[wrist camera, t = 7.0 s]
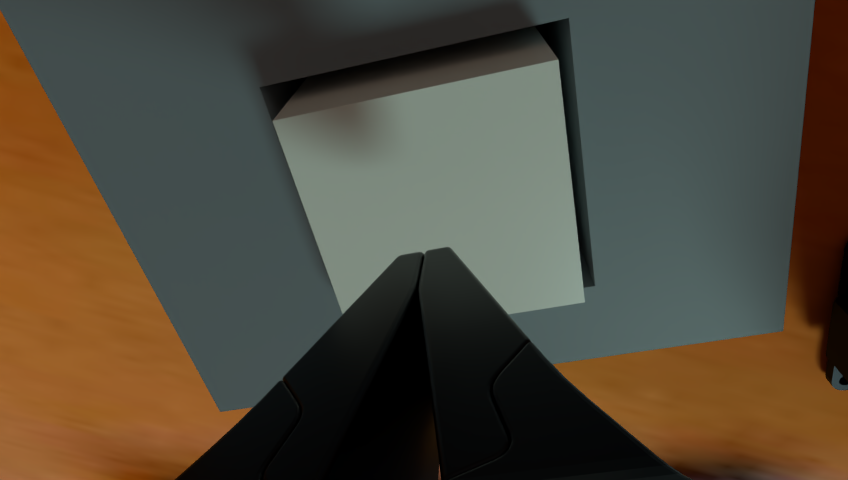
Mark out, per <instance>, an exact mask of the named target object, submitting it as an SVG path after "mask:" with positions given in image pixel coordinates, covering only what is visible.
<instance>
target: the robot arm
mask: <svg viewBox="0 0 848 480" xmlns="http://www.w3.org/2000/svg"><path fill="white" fill-rule="evenodd" d="M826 356H827V358H828V362H827V368H826V379H827V380H828V381H829V382H830V384H831V385H832V386H833V387H834V388H835V389H838V390H848V242H847V243H846V246H845V248H844V254H843V261H842V268H841V274H840V281H839V288H838V294H837V297H836V299H835V301H834V302H833V308H832V315H831V322H830V329H829V336H828V343H827V349H826ZM282 380H283V381H282ZM282 380H280V381H278V382H277V383H276V385H275V386H274V387H273V388H272V389H271V390H270V391H269V392H268V393H267V394H266V395H265V396H264V397H263V398H262V399H261V400H260V401H259V402H258V403H257V404H256V405H255V406H254V407H253V408H252V409H251V410H250V411H249V412H248V413H247V414H246V415H245V416H244V417H243V418H242V419H241V420H240V421H239V422H238V423H237V424H236V425H235V426H234V427H233V428H232V429H231V430H229V431H228V432H227V433H226V434H225V435H224V436H223V437H222V438H221V439H220V440H219V441H218V442H216V443H215V444H214V445H213V446H212V447H211V448H210V449H209V450H208V451H207V452H205V453H204V454H203V455H202V456H201V457H200V458H199V459H198V460H196V461H195V462H194V463H193V464H192V465H191V466H190V467H189V468H187V469H186V470H185V471H184V472H183V473H182V474H181V475H180V476H178V477H177V478H176V479H175V480H438V473H439V465H440V473H441V480H692V479H690V478H689V477H687V476H685V475H683V474H681V473H680V472H678V471H677V470H675V469H674V468H672V467H671V466H669V465H668V464H667V463H665V462H664V461H663V460H662V459H660V458H659V457H658V456H657V455H655V454H654V453H653V452H652V451H651V450H649V449H648V448H647V447H646V446H645V445H643V444H642V443H641V442H640V441H639V440H637V439H636V438H635V437H634V436H633V435H631V434H630V433H629V432H628V431H627V430H625V429H624V428H623V427H622V426H621V425H619V424H618V423H617V422H616V421H615V420H613V419H612V418H611V417H610V416H609V415H607V414H606V413H605V412H604V411H603V410H601V409H600V408H599V407H598V406H597V405H595V404H594V403H593V402H592V401H591V400H589V399H588V398H587V397H586V396H585V395H584V394H583V393H582V392H580V391H579V390H578V389H577V388H576V387H575V386H574V385H573V384H572V383H570V382H569V381H568V380H567V379H566V378H565V377H564V376H563V375H562V374H561V373H560V372H559V371H558V370H557V369H556V368H555V367H554V366H553V365H552V363H551V362H550V361H549V360H548V359H547V358H546V357H545V356H544V355H543V354H542V353H541V351H540V350H539V349H538V348H537V347H536V346H535V344H534V343H532V342H531V340H530V339H529V338H528V337H527V336H526V334H525V333H524V332H523V331H522V330H521V329H520V327H519V326H518V325H517V324H516V323H515V322H514V320H513V319H512V318H511V317H510V316H509V315H508V313H507V312H506V311H505V310H504V309H503V308H502V307H501V305H500V304H499V303H498V302H497V301H496V300H495V298H494V297H493V296H492V295H491V294H490V293H489V291H488V290H487V289H486V288H485V287H484V286H483V285H482V283H481V282H480V281H479V280H478V279H477V278H476V276H475V275H474V274H473V273H472V272H471V271H470V269H469V268H468V267H467V266H466V265H465V264H464V262H463V261H462V260H461V259H460V258H459V257H458V256H457V254H456V253H455V252H454V251H453V250H452V249H451V248H450V247H443V248H437V249H432V250H428V251H426V252H425V254H424V253H422V252H415V253H409V254H404V255H400V256H398V257H397V258H396V259H395V260H394V261H393V262H392V263H391V264H390V265H389V266H388V267H387V268H386V269H385V270H384V271H383V272H382V274H381V275H380V276H379V277H378V278H377V279H376V280H375V281H374V282H373V283H372V284H371V285H370V286H369V287H368V288H367V289H366V290H365V291H364V292H363V293H362V295H361V296H360V297H359V298H358V299H357V300H356V301H355V302H354V303H353V304H352V305H351V306H350V307H349V308H348V309H347V310H346V311H345V312H344V313H343V314H342V316H341V317H340V318H339V319H338V320H337V321H336V322H335V323H334V324H333V325H332V326H331V327H330V328H329V329H328V330H327V331H326V332H325V333H324V334H323V335H322V336H321V338H320V339H319V340H318V341H317V342H316V343H315V344H314V345H313V346H312V347H311V348H310V349H309V350H308V351H307V352H306V353H305V354H304V355H303V356H302V357H301V359H300V360H299V361H298V362H297V363H296V364H295V365H294V366H293V367H292V368H291V369H290V370H289V371H288V372H287V373H286V374H285V375H284V376H283V378H282Z"/></svg>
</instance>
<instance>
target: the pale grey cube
mask: <svg viewBox="0 0 848 480" xmlns="http://www.w3.org/2000/svg"><path fill="white" fill-rule="evenodd" d="M273 124H274V127H275V130H276V132H277V135H278V138H279V141H280V143H281V146H282V149H283V152H284V154H285V157H286V160H287V163H288V165H289V168H290V171H291V174H292V176H293V179H294V182H295V185H296V187H297V190H298V193H299V196H300V198H301V201H302V204H303V207H304V209H305V212H306V215H307V218H308V220H309V223H310V226H311V229H312V231H313V234H314V237H315V240H316V242H317V245H318V248H319V251H320V253H321V256H322V259H323V262H324V264H325V267H326V270H327V273H328V275H329V278H330V281H331V284H332V286H333V289H334V292H335V295H336V297H337V300H338V303H339V306H340V308H341V311H342V314H343V313H344V312H345V311H346V310H347V309H348V308H349V307H350V306H351V305H352V304H353V303H354V302H355V301H356V300H357V299H358V298H359V297H360V296H361V295H362V293H363V292H364V291H365V290H366V289H367V288H368V287H369V286H370V285H371V284H372V283H373V282H374V281H375V280H376V279H377V278H378V277H379V276H380V275H381V274H382V272H383V271H384V270H385V269H386V268H387V267H388V266H389V265H390V264H391V263H392V262H393V261H394V260H395V259H396V258H397V257H398V256H400V255H404V254H409V253H415V252H422V253H424V254H425V252H426V251H428V250H432V249H437V248H443V247H450V248H451V249H452V250H453V251H454V252H455V253H456V254H457V256H458V257H459V258H460V259H461V260H462V261H463V262H464V264H465V265H466V266H467V267H468V268H469V269H470V271H471V272H472V273H473V274H474V275H475V276H476V278H477V279H478V280H479V281H480V282H481V283H482V285H483V286H484V287H485V288H486V289H487V290H488V291H489V293H490V294H491V295H492V296H493V297H494V298H495V300H496V301H497V302H498V303H499V304H500V305H501V307H502V308H503V309H504V310H505V311H506V312H507V313H508V314H514V313H521V312H527V311H533V310H540V309H546V308H552V307H559V306H565V305H572V304H578V303H584V302H585V298H584V289H583V280H582V271H581V261H580V252H579V243H578V234H577V225H576V216H575V207H574V198H573V189H572V179H571V170H570V161H569V152H568V143H567V134H566V125H565V116H564V106H563V97H562V88H561V79H560V70H559V61H558V58H557V57H556V55H555V54H554V53H553V51H552V50H551V48H550V47H549V46H548V44H547V43H546V41H545V40H544V39H543V37H542V36H541V34H540V33H539V31H538V30H537V29H536V27H535V26H531V27H526V28H522V29H517V30H513V31H508V32H504V33H499V34H495V35H491V36H486V37H482V38H477V39H473V40H468V41H464V42H459V43H455V44H450V45H446V46H442V47H437V48H433V49H428V50H424V51H419V52H415V53H410V54H406V55H401V56H397V57H393V58H388V59H384V60H379V61H375V62H370V63H366V64H361V65H357V66H352V67H348V68H344V69H339V70H335V71H330V72H326V73H321V74H317V75H312V76H308V77H307V78H306V80H305V81H304V82H303V83H302V85H301V86H300V87H299V88H298V90H297V91H296V92H295V93H294V95H293V96H292V97H291V98H290V100H289V101H288V102H287V103H286V105H285V106H284V107H283V108H282V110H281V111H280V112H279V113H278V115H277V116H276V117H275V118H274V120H273Z"/></svg>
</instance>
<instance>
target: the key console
mask: <svg viewBox="0 0 848 480" xmlns="http://www.w3.org/2000/svg"><path fill="white" fill-rule="evenodd" d="M814 5H815V0H0V10H1V12H2V13H3V15H4V17H5V19H6V21H7V23H8V24H9V26H10V28H11V30H12V32H13V34H14V35H15V37H16V39H17V41H18V43H19V45H20V46H21V48H22V50H23V52H24V54H25V56H26V57H27V59H28V61H29V63H30V65H31V67H32V68H33V70H34V72H35V74H36V76H37V77H38V79H39V81H40V83H41V85H42V87H43V88H44V90H45V92H46V94H47V96H48V98H49V99H50V101H51V103H52V105H53V107H54V109H55V110H56V112H57V114H58V116H59V118H60V120H61V121H62V123H63V125H64V127H65V129H66V131H67V132H68V134H69V136H70V138H71V140H72V141H73V143H74V145H75V147H76V149H77V151H78V152H79V154H80V156H81V158H82V160H83V162H84V163H85V165H86V167H87V169H88V171H89V173H90V174H91V176H92V178H93V180H94V182H95V184H96V185H97V187H98V189H99V191H100V193H101V195H102V196H103V198H104V200H105V202H106V204H107V205H108V207H109V209H110V211H111V213H112V215H113V216H114V218H115V220H116V222H117V224H118V226H119V227H120V229H121V231H122V233H123V235H124V237H125V238H126V240H127V242H128V244H129V246H130V248H131V249H132V251H133V253H134V255H135V257H136V259H137V260H138V262H139V264H140V266H141V268H142V269H143V271H144V273H145V275H146V277H147V279H148V280H149V282H150V284H151V286H152V288H153V290H154V291H155V293H156V295H157V297H158V299H159V301H160V302H161V304H162V306H163V308H164V310H165V312H166V313H167V315H168V317H169V319H170V321H171V323H172V324H173V326H174V328H175V330H176V332H177V333H178V335H179V337H180V339H181V341H182V343H183V344H184V346H185V348H186V350H187V352H188V354H189V355H190V357H191V359H192V361H193V363H194V365H195V366H196V368H197V370H198V372H199V374H200V376H201V377H202V379H203V381H204V383H205V385H206V387H207V388H208V390H209V392H210V394H211V396H212V397H213V399H214V401H215V403H216V405H217V407H218V408H219V410H220V412H222V411H229V410H236V409H243V408H250V407H254V406H255V405H256V404H257V403H258V402H259V401H260V400H261V399H262V398H263V397H264V396H265V395H266V394H267V393H268V392H269V391H270V390H271V389H272V388H273V387H274V386H275V385H276V383H277V382H278V381H280V380H282V378H283V376H284V375H285V374H286V373H287V372H288V371H289V370H290V369H291V368H292V367H293V366H294V365H295V364H296V363H297V362H298V361H299V360H300V359H301V357H302V356H303V355H304V354H305V353H306V352H307V351H308V350H309V349H310V348H311V347H312V346H313V345H314V344H315V343H316V342H317V341H318V340H319V339H320V338H321V336H322V335H323V334H324V333H325V332H326V331H327V330H328V329H329V328H330V327H331V326H332V325H333V324H334V323H335V322H336V321H337V320H338V319H339V318H340V317H341V316H342V311H341V308H340V306H339V303H338V300H337V297H336V295H335V292H334V289H333V286H332V284H331V281H330V278H329V275H328V273H327V270H326V267H325V264H324V262H323V259H322V256H321V253H320V251H319V248H318V245H317V242H316V240H315V237H314V234H313V231H312V229H311V226H310V223H309V220H308V218H307V215H306V212H305V209H304V207H303V204H302V201H301V198H300V196H299V193H298V190H297V187H296V185H295V182H294V179H293V176H292V174H291V171H290V168H289V165H288V163H287V160H286V157H285V154H284V152H283V149H282V146H281V143H280V141H279V138H278V135H277V132H276V130H275V127H274V124H273V120H274V118H275V117H276V116H277V115H278V113H279V112H280V111H281V110H282V108H283V107H284V106H285V105H286V103H287V102H288V101H289V100H290V98H291V97H292V96H293V95H294V93H295V92H296V91H297V90H298V88H299V87H300V86H301V85H302V83H303V82H304V81H305V80H306V78H307V77H308V76H312V75H317V74H321V73H326V72H330V71H335V70H339V69H344V68H348V67H352V66H357V65H361V64H366V63H370V62H375V61H379V60H384V59H388V58H393V57H397V56H401V55H406V54H410V53H415V52H419V51H424V50H428V49H433V48H437V47H442V46H446V45H450V44H455V43H459V42H464V41H468V40H473V39H477V38H482V37H486V36H491V35H495V34H499V33H504V32H508V31H513V30H517V29H522V28H526V27H531V26H535V27H536V29H537V30H538V31H539V33H540V34H541V36H542V37H543V39H544V40H545V41H546V43H547V44H548V46H549V47H550V48H551V50H552V51H553V53H554V54H555V55H556V57H557V58H558V61H559V70H560V79H561V88H562V97H563V106H564V116H565V125H566V134H567V143H568V152H569V161H570V170H571V179H572V189H573V198H574V207H575V216H576V225H577V234H578V243H579V252H580V261H581V271H582V280H583V289H584V298H585V302H584V303H578V304H572V305H565V306H559V307H552V308H546V309H540V310H533V311H527V312H521V313H514V314H508V315H509V316H510V317H511V318H512V319H513V320H514V322H515V323H516V324H517V325H518V326H519V327H520V329H521V330H522V331H523V332H524V333H525V334H526V336H527V337H528V338H529V339H530V340H531V342H532V343H534V344H535V346H536V347H537V348H538V349H539V350H540V351H541V353H542V354H543V355H544V356H545V357H546V358H547V359H548V360H549V361H550V362H551V363H552V364H556V363H563V362H570V361H577V360H584V359H591V358H598V357H605V356H612V355H619V354H626V353H633V352H640V351H647V350H654V349H661V348H668V347H675V346H682V345H689V344H696V343H703V342H710V341H717V340H724V339H730V338H737V337H744V336H751V335H758V334H765V333H772V332H779V331H783V325H784V315H785V305H786V294H787V284H788V274H789V263H790V253H791V243H792V232H793V222H794V212H795V201H796V191H797V181H798V171H799V160H800V150H801V140H802V129H803V119H804V109H805V98H806V88H807V78H808V67H809V57H810V47H811V36H812V26H813V16H814ZM282 381H283V380H282Z"/></svg>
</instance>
